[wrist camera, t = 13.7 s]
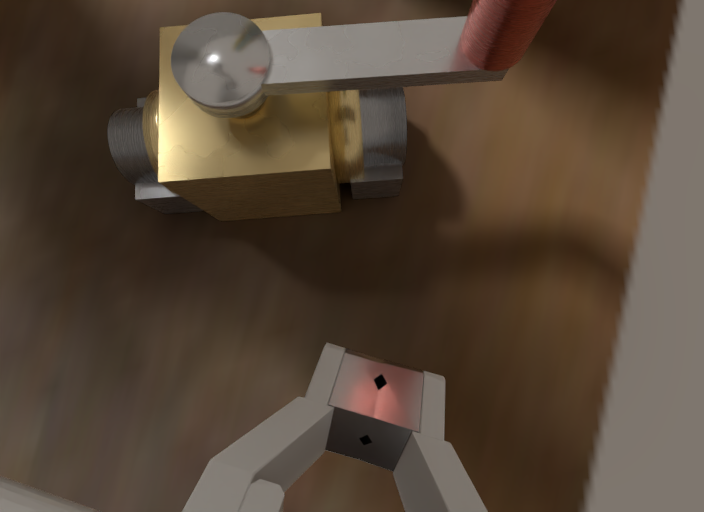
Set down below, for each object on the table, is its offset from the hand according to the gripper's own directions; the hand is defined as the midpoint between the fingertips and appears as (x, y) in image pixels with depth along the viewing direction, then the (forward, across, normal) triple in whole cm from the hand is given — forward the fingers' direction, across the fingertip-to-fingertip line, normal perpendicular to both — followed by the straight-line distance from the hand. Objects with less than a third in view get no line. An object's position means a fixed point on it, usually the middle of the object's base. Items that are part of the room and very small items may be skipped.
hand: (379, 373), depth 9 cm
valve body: (+17, +9, +2) cm, 19 cm away
